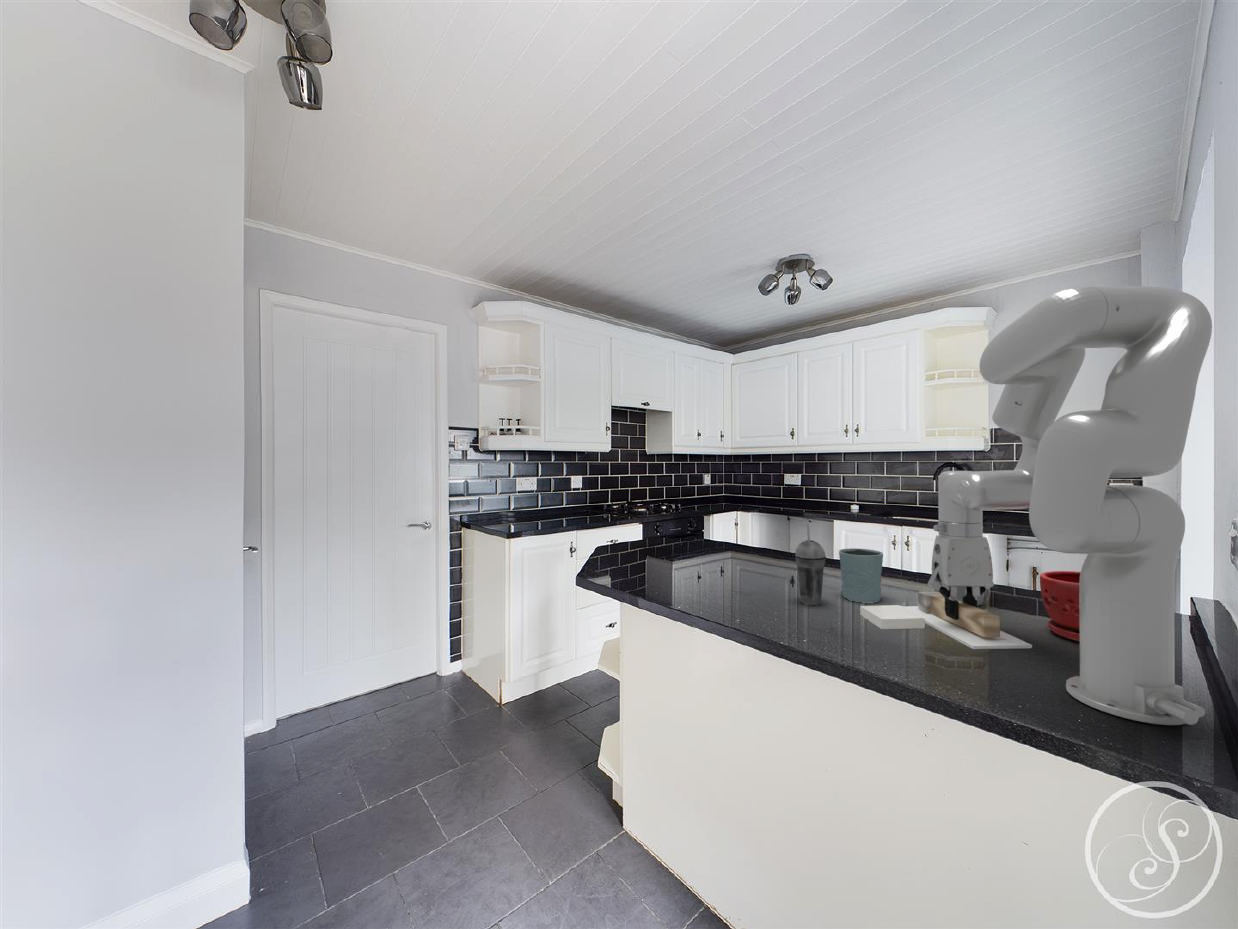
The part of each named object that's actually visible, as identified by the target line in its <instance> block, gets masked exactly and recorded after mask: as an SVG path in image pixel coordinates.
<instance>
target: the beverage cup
mask: <svg viewBox="0 0 1238 929" xmlns="http://www.w3.org/2000/svg"><path fill="white" fill-rule="evenodd" d="M806 532H807V533H806V534H807V539H806V540H803V541H802V542H800V543H799V544H798V545H797V547H796V549H795V551H794V552H795V553H794V557H795V563H796V567H797V568H796V569H797V577H798V589H799V595H800V602H802V603H804V604H803V605H805V604H808V605H807V606H811V605H816V606H819V605H818V604H820V603H821V601H822V596H823V595H822V593H823V592H822V591H823V581H824V568H825V564H826V559H827V557H826V552H825V549H824V548H823V547H822V545H821V544H820V543H819V542H817V541H815V540H812V539H810V537H811V536H810V523H809V522H807V523H806ZM802 603H801V604H802ZM820 605H821V604H820Z"/></svg>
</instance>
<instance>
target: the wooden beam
mask: <svg viewBox="0 0 1238 929" xmlns="http://www.w3.org/2000/svg"><path fill="white" fill-rule="evenodd" d="M957 601H958V600H957ZM958 602H959V619H958V620H954V619H952V618H950V617H948V616H946V613H945V597H943V596H942V594H941V593H940V592H935V591H918V592H917V606H918V610H920V611H922V612H925V613H932V614H934V615H936V616H938V617H940V618H943V619H945V620H947V621H949V622H952V623H954V624H956V625H958V626H960V627H963V628H965V629H967V630H969V631H972V632H974V633H976V634H978V635H980V636H983V637H1000V631H1001V626H1000V625H1001V622H1000V615H997V614H994V613H992V612H991V611H990V612H989V611H987V610H984V609H981V608H979V607H978V606H977V607H974V606H971V605H968V604H966V603H963V602H961V601H958Z"/></svg>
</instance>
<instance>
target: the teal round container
mask: <svg viewBox="0 0 1238 929" xmlns="http://www.w3.org/2000/svg"><path fill="white" fill-rule="evenodd" d="M838 555H839V564H840V575H841V589H842V597H843V596H844V597H845V598H847V599H849V600H852V601H859V602H876V601H879V602H881V594H882V588H881V582H882V572H883V559H884V553H883V552H882V551H880V550H874V549H868V548H867V549H866V548H853V547H852V548H842V549H840V550H838Z"/></svg>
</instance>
